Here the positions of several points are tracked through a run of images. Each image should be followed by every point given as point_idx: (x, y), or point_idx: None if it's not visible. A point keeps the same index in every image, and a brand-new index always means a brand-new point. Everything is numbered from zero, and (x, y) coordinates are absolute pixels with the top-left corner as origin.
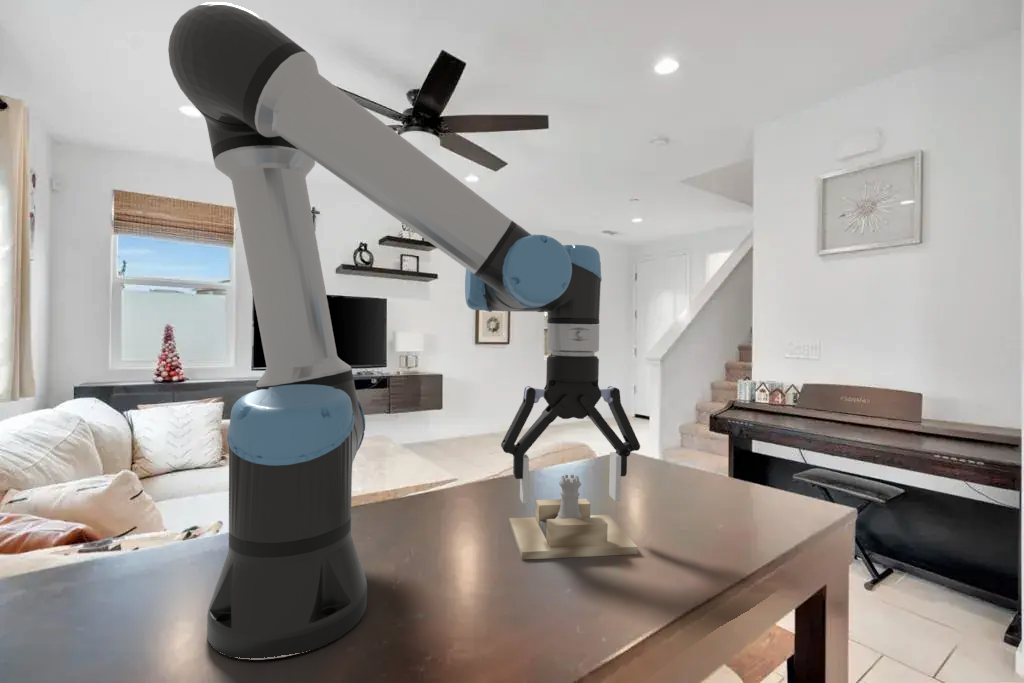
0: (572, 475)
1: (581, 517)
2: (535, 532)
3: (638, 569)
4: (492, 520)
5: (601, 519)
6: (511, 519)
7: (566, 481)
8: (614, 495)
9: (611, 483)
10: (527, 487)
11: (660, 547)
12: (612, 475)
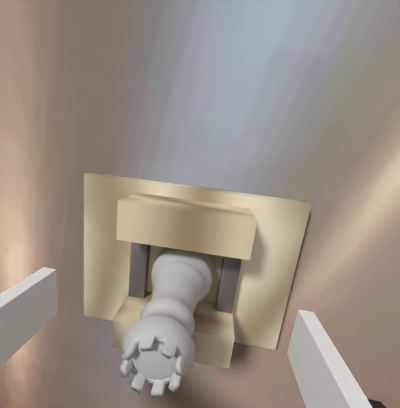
0: (167, 358)
1: (206, 288)
2: (121, 254)
3: (245, 374)
4: (62, 141)
5: (226, 349)
6: (87, 181)
7: (133, 378)
8: (293, 359)
9: (310, 363)
10: (17, 348)
11: (328, 329)
12: (323, 406)
